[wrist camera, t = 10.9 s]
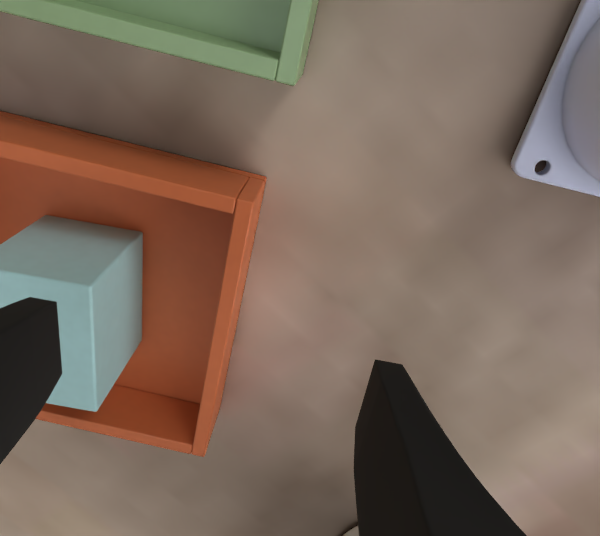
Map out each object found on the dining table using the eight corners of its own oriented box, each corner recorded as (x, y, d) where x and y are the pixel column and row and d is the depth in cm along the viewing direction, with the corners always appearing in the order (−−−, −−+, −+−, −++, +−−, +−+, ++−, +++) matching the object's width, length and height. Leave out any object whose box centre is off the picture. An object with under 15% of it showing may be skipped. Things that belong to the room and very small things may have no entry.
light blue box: (143, 231, 20) (91, 286, 16) (142, 340, 22) (96, 413, 18) (45, 213, 20) (-34, 265, 16) (55, 324, 22) (-11, 394, 18)
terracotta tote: (267, 176, 19) (254, 202, 16) (219, 409, 24) (203, 458, 22) (-51, 97, 18) (-119, 110, 16) (-26, 353, 24) (-72, 395, 21)
